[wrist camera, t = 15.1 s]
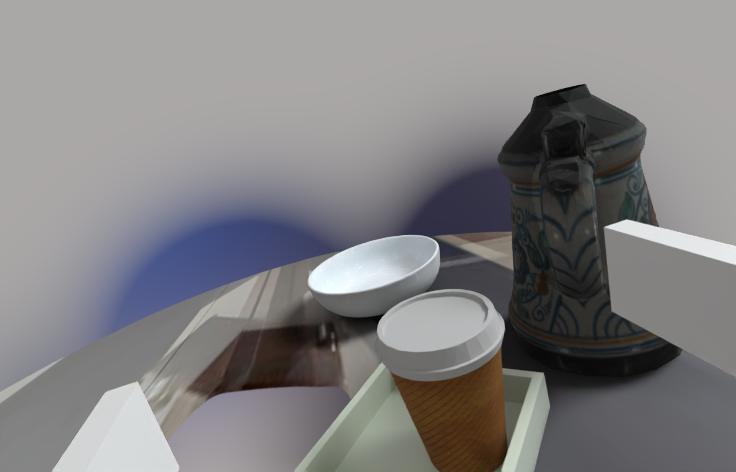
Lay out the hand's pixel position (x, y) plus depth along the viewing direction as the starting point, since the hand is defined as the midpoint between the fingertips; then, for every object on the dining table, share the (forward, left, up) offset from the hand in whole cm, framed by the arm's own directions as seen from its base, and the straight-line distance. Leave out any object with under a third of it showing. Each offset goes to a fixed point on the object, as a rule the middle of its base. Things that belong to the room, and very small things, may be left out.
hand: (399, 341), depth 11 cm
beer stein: (0, +33, -22) cm, 40 cm away
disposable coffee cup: (-8, +16, -21) cm, 27 cm away
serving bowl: (-31, +40, -22) cm, 55 cm away
